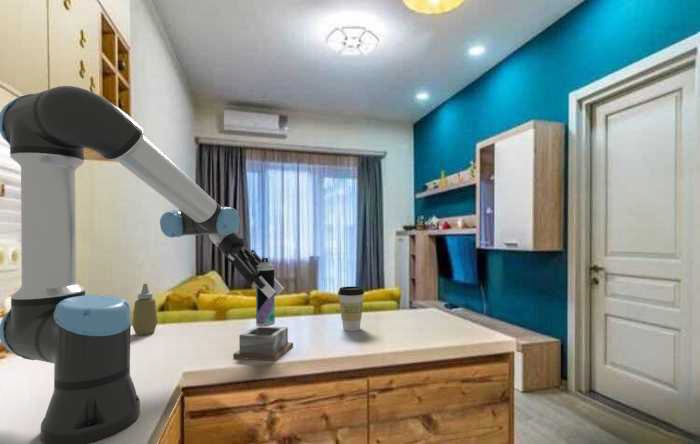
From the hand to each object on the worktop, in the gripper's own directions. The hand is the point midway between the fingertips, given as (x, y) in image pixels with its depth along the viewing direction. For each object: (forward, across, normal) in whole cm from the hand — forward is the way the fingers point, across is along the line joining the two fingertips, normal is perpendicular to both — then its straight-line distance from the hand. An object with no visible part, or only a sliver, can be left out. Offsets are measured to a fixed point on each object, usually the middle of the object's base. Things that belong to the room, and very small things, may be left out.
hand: (276, 293), depth 107 cm
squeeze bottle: (-27, -10, -53) cm, 60 cm away
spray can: (+4, 0, -9) cm, 10 cm away
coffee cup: (+24, -29, -1) cm, 38 cm away
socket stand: (+10, +1, -15) cm, 18 cm away
